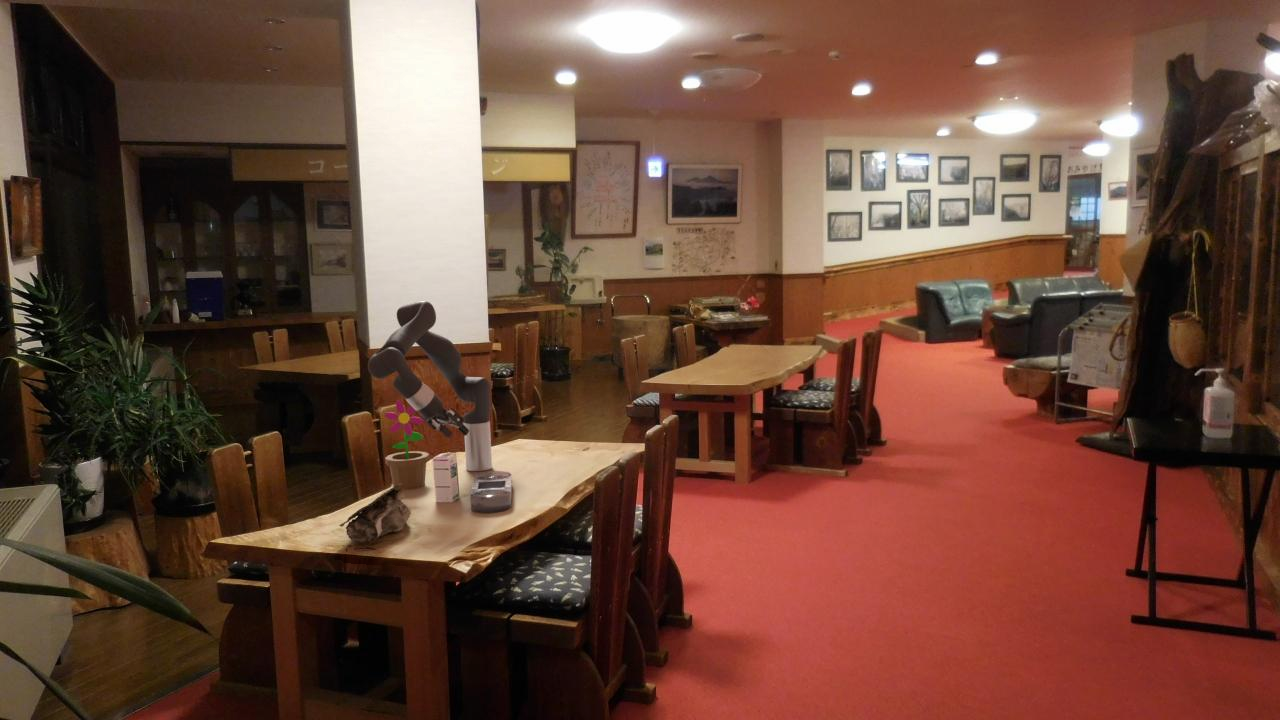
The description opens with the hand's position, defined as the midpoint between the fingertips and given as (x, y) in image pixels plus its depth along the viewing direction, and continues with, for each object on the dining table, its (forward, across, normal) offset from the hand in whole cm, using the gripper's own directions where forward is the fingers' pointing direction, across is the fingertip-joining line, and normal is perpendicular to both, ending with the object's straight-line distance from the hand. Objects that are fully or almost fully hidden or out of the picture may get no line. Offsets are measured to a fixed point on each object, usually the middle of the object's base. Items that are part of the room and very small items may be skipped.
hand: (458, 434), depth 278 cm
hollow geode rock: (-5, -1, +41) cm, 41 cm away
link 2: (+21, -3, +10) cm, 24 cm away
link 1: (+25, +5, +3) cm, 26 cm away
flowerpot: (+14, +36, +8) cm, 39 cm away
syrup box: (+15, +10, +14) cm, 23 cm away
